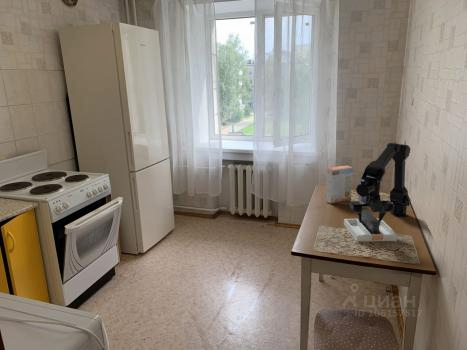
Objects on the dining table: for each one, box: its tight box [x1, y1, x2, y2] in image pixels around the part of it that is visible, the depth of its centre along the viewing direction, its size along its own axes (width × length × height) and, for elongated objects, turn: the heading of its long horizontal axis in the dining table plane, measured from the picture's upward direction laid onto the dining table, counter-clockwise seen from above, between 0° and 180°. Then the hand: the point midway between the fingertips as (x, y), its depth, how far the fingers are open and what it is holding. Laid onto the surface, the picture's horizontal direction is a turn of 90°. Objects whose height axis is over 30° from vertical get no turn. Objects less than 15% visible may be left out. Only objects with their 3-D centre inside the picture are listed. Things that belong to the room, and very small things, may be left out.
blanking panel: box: [361, 209, 380, 234], centre depth 161 cm, size 3×14×8 cm, turn 0°
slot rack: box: [343, 217, 399, 243], centre depth 162 cm, size 18×19×3 cm
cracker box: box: [325, 165, 354, 204], centre depth 201 cm, size 14×6×21 cm, turn 108°
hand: (369, 222), depth 161 cm, fingers open, 9 cm apart
